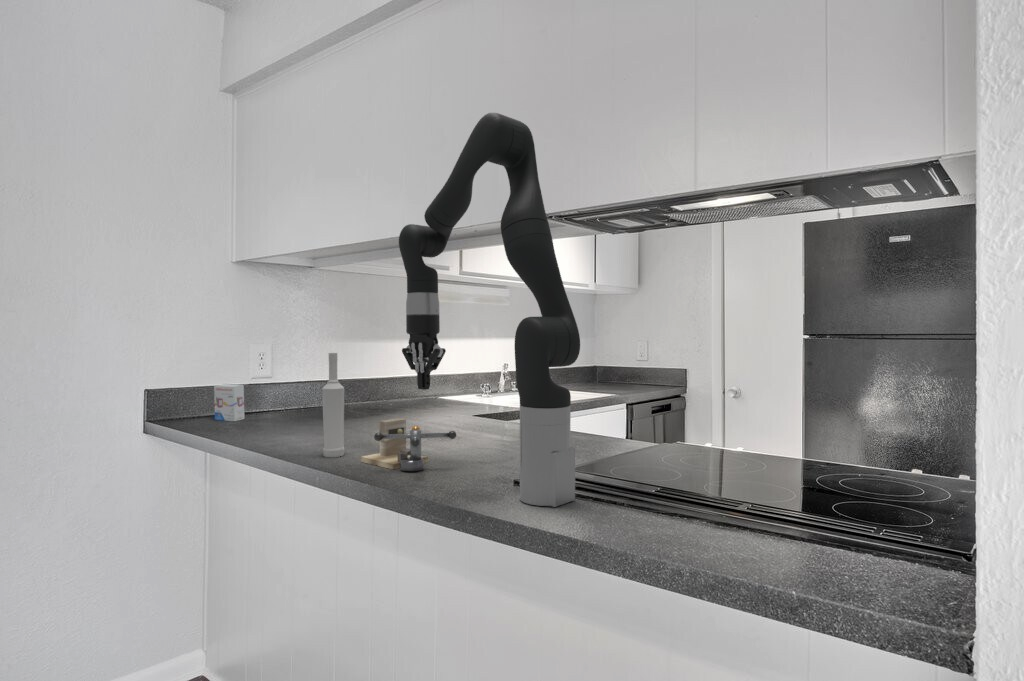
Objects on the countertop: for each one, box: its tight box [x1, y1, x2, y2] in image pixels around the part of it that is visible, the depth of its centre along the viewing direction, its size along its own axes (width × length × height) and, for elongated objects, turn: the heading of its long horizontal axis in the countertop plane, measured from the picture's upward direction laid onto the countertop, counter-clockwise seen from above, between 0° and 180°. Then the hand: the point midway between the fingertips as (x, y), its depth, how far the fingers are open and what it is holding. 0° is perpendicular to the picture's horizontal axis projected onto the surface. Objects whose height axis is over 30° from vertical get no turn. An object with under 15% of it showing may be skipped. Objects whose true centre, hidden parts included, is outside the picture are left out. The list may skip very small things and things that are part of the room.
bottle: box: [321, 352, 346, 458], centre depth 154 cm, size 5×5×25 cm
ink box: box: [213, 383, 245, 422], centre depth 212 cm, size 9×5×12 cm, turn 73°
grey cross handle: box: [373, 425, 457, 472], centre depth 139 cm, size 18×18×8 cm
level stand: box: [360, 418, 429, 470], centre depth 146 cm, size 14×10×9 cm
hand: (423, 389), depth 145 cm, fingers closed
